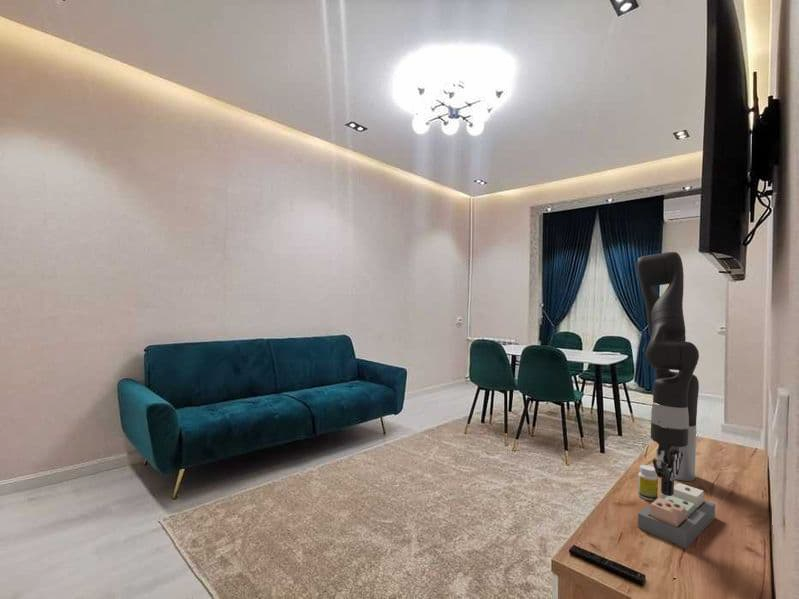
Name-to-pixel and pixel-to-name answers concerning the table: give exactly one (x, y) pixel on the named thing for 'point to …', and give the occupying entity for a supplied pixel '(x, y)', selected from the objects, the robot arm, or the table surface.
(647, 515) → the well board
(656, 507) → the tile three
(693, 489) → the tile one
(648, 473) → the supplement bottle
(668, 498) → the tile two
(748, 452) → the table surface
